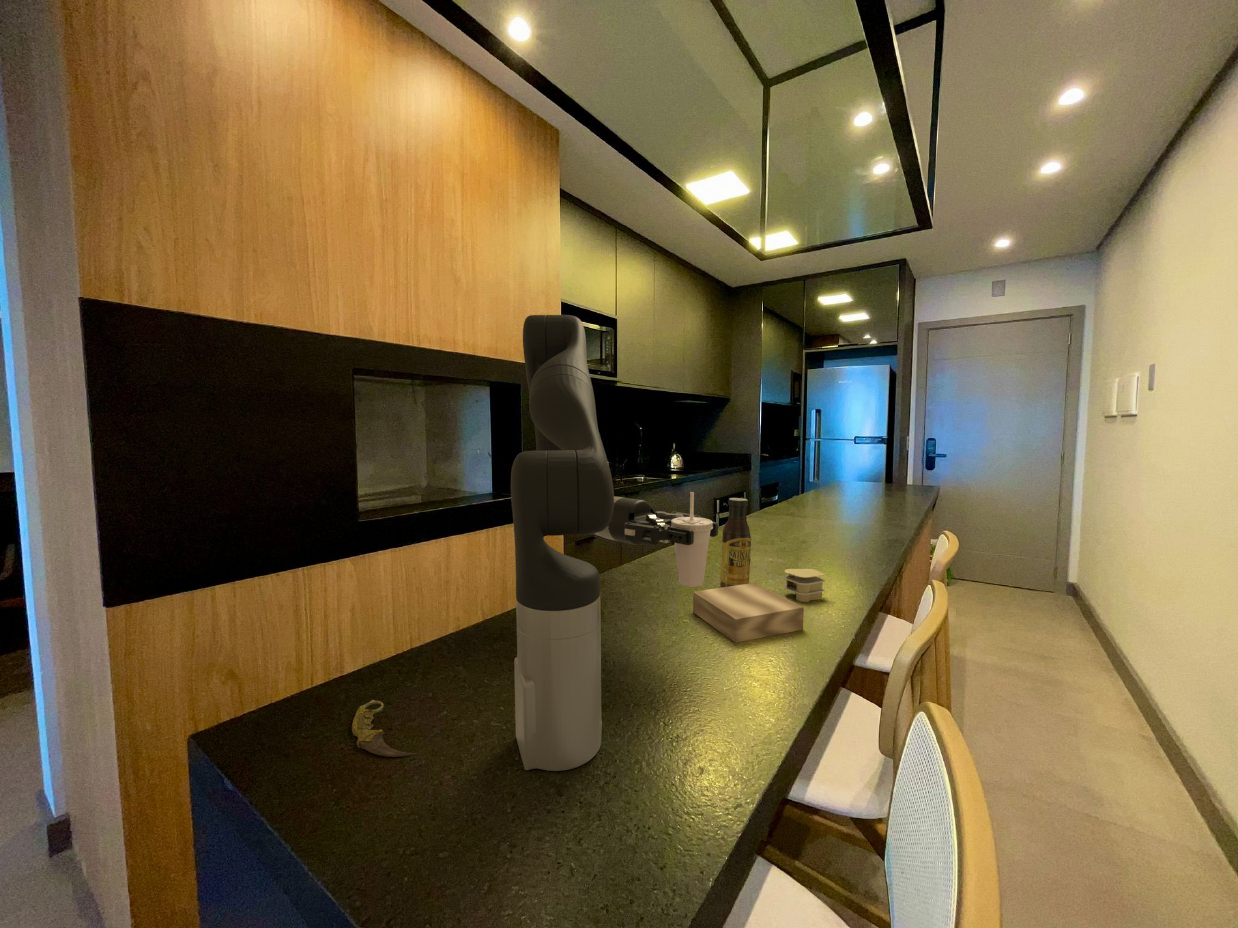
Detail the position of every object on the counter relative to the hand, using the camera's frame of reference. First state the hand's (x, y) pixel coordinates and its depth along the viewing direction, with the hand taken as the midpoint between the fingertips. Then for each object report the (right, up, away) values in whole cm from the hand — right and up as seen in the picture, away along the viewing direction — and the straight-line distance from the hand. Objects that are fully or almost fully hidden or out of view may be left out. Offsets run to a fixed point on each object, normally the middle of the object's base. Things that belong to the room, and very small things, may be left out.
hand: (704, 533), depth 72 cm
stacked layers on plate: (+26, -18, +28) cm, 42 cm away
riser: (+10, -18, +16) cm, 26 cm away
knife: (-41, -22, -15) cm, 49 cm away
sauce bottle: (+12, -17, +33) cm, 39 cm away
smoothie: (-2, -8, +2) cm, 9 cm away
